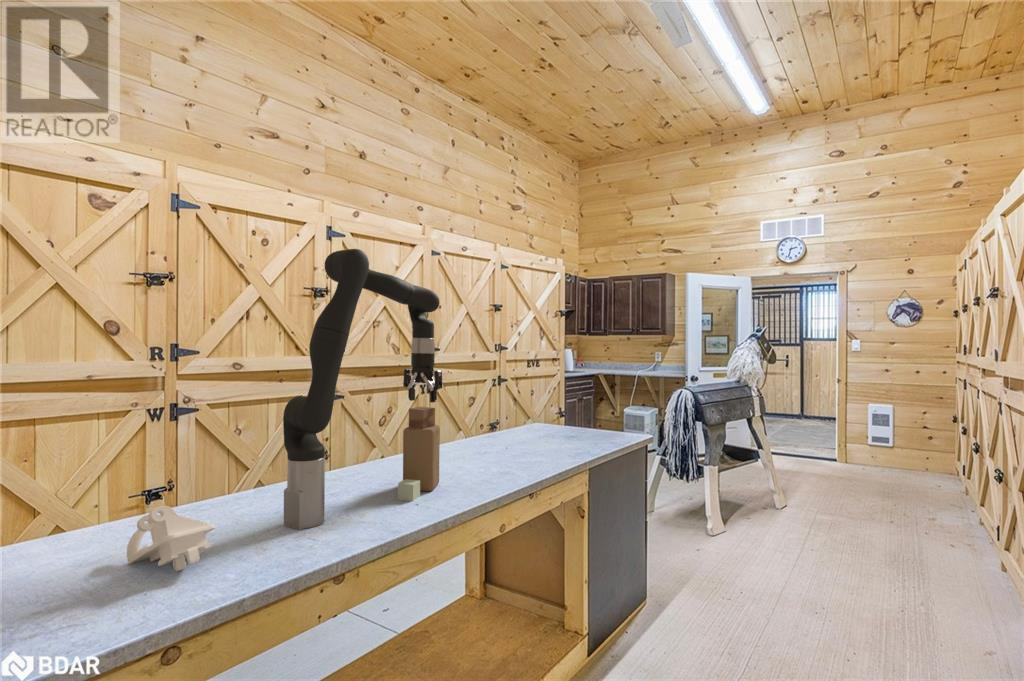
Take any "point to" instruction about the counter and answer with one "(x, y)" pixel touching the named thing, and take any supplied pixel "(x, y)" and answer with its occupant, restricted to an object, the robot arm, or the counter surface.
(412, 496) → the sage cube
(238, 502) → the counter surface
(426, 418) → the walnut cube
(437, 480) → the wooden block
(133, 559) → the beige angular piece
